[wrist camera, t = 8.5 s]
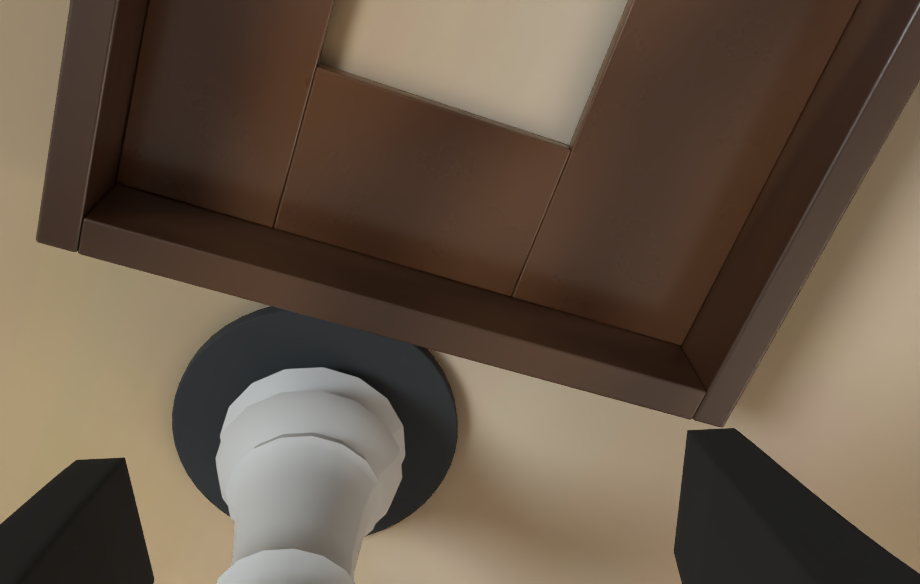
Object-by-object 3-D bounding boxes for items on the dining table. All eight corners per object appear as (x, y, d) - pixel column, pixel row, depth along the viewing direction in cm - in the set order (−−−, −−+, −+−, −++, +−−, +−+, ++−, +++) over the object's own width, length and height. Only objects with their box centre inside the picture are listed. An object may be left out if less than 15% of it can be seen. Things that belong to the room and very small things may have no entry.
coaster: (495, 345, 21) (497, 353, 21) (409, 556, 24) (409, 566, 23) (207, 265, 20) (204, 273, 19) (152, 499, 22) (148, 509, 22)
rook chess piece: (379, 337, 20) (362, 595, 13) (425, 484, 22) (432, 778, 15) (196, 378, 20) (82, 655, 13) (257, 520, 22) (187, 827, 15)
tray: (1020, -245, 16) (1115, -262, 14) (692, 373, 22) (723, 429, 19) (211, -626, 13) (173, -721, 11) (77, 200, 19) (33, 242, 17)
